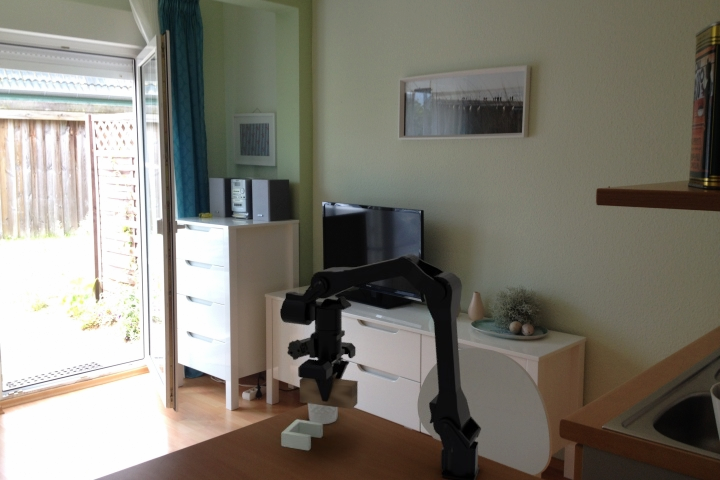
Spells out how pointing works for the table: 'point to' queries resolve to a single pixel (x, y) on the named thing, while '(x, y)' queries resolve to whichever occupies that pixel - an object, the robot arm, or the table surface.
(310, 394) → the brown wooden block
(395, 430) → the table surface
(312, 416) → the white cup
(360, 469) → the table surface
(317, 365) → the robot arm
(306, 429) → the bracket
